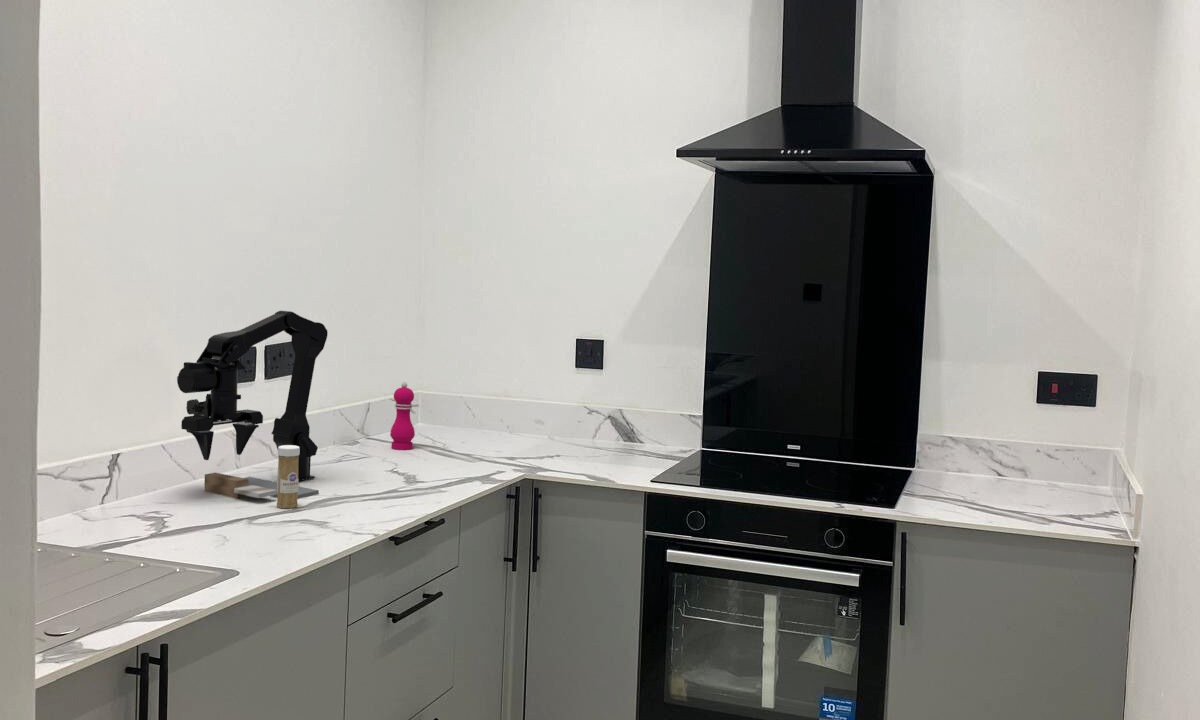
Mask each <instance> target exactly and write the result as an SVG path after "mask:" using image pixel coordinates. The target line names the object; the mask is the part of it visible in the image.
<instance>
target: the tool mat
mask: <svg viewBox="0 0 1200 720" xmlns="http://www.w3.org/2000/svg"><path fill="white" fill-rule="evenodd" d="M244 478H245V479H248V486H249V485H254V486H259V487H264V488H269V489H274V490H277V481H275V480H274V481H273V480H268V479H264V478H259V477H252V476H247V477H246V476H245V477H244ZM319 492H320V491H319V489H314V488H308V487H303V486H299V485H298V494H297V495H298V497H297V499H301V498H306V497H311V496H314V495H319V494H320V493H319ZM277 496H278V492H277V494H276V495H272V496H271V497H273V498H277Z"/></svg>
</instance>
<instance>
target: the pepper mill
mask: <svg viewBox="0 0 1200 720" xmlns="http://www.w3.org/2000/svg"><path fill="white" fill-rule="evenodd" d="M414 399H415V393H414V391H413V390H412V389H411V388H409V387H408V383H407V382H402V383H401V387H399V388H397V389H396V390H395V391H394V393H393V400H394V401H395V405H394V408H395V409H396V417H395V420H394V422H393V423H392V424H393V425H392V426H391V429H390V435H389V436H390V437H391V439H392V442H391V449H393V450H396V451H408V450H412V449H413V448H414V447H413V444H414V443H413V441H412V440H414V438H415V435H416V433H415V432H416V431H415V428H414V425H413V423H412V419H411V409H412V408H413V404H412V402H413V401H414Z"/></svg>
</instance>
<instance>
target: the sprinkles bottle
mask: <svg viewBox="0 0 1200 720" xmlns="http://www.w3.org/2000/svg"><path fill="white" fill-rule="evenodd" d="M299 454H300V447H299V446H295V445H283V446H279V447H278V450H277V457H278V465H277V466H278V467H277V479H276V480H277V481H276V482H277V492H278V496H277V497H276V498H277V503H276V506H277V507H278V508H280V509H291V508H292V509H294V508H296V507H298V505H299V504H298V498H297V497H298V495H297V494H298V486H299V481H298V459H299V458H298V457H299Z"/></svg>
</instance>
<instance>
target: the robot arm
mask: <svg viewBox="0 0 1200 720" xmlns="http://www.w3.org/2000/svg"><path fill="white" fill-rule="evenodd" d="M282 332H285V333H286V334H288V335H289V336H291V346H292V350H293V353H294V362H293V367H292V372H291V378H290V383H289V389H288V394H287V401H286V406H285V411H284V413H283V414H282V416H280V418H278V417H275V418H274V421H273V422H274V423H273V428H272V431H271V435H272V437H273V438H272V441H273V443H274V444H275V446H276V449H277V451H278V447H279V446H283V445H295V446H299V447H300V454H299V457H298V458H299V459H298V482H302V481H306V480H311V479H312V480H313V479H315V477H316V476H315V475H311V457H313V456H316V455H317V451H318V448H319V447H318V446H317V445H316V443H315V442H314V441H313V440H312V439H311V438H310V431H311V430H310V429H311V428H310V423H309V421H308V418H307V409H308V404H309V400H310V399H309V397H310V393H311V388H312V381H313V377H314V370H315V364H316V360H317V358H318V357H319V355H320V354H321V352H323V350H324V348H325V346H326V342H327V338H328V333H329V332H328V329H327V328H326V326H325V325H324V323H321V322H316V321H313V320H310V319H308V318H305V317H303V316H302V315H301V316H300V315H299V314H297V313H296V312H294V311H288V310H278V311H276V312H275V313H273V314H272V315H270V316H267V317H265V318H263V319H261V320H259V321H257V322H255V323H254V322H253V323H252V324H250V325H248V326H246V327H243V328H241V329H239V330H234V331H227V332H221V333H218V334H214V335H211V336H210V337H209V339H208V340H207V341H208V342H207V344H206V346H205V348H204V350H203V351H202V353H201V354H200V355H199V357H198V359H197V360H196V362H191V361H187V362H183V367H182V368H181V369H180V370H179V372H178V374H177V377H176V381H177V386H178V388H179V390H180V391H181V393H184V394H192V393H194V394H195V393H203V392H210V393H206V395H205V400H204V401H199V399H197V398H196V399H189V400H187V401H186V407H185V409H186V412H187V414H188V416H184V417H183V418H182V419H181V425H180V427H181V430H185V431H186V433H188V434H189V433H190V434H191V435H192V436H193V437H194V438H195V440H196V442H197V445H198V447H199V450H200V452H201V455H202V457H203V460H204V461H209V459H210V456H211V451H212V445H213V439H214V433H215V431H214V430H213V431H212V429H213V427H214V426H219V425H228V424H232V426H233V429H234V430H235V450H236V455H238V456H241V455H242V453H243V452H244V450H245V448H246V446H247V444H248V442H249V440H250V438H251V437H252V436H253V434H254V432H255V431H256V429H257V428H259V427H260V426H259V425H261V424H264V415H263V413H262V412H261V411H260V410H254V409H249V408H248V409H241V410H240V409H239V410H238V400H242V395H241V394H238V373H239V372H238V371H244V370H246V369H247V367H246V365H244V364H243V363H242V362H241V361H240V360H239V359H241V358H242V357H245V355H246V354H248V352H249V350H250V349H251V348H253V346H255V345H258V344H260V343H262V342H263V341H266V340H267V339H269V338H271V337H273V336H276V335H278V334H280V333H282Z"/></svg>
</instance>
